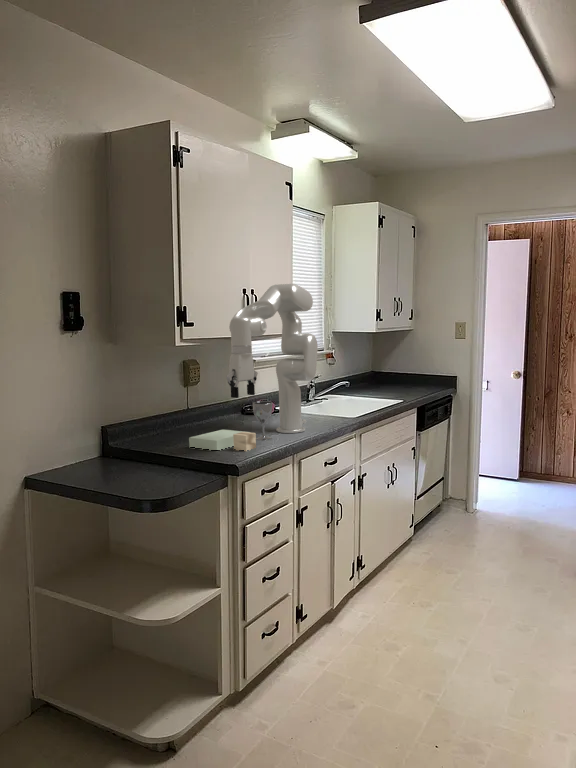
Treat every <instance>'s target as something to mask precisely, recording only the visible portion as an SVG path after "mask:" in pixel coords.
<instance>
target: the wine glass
mask: <svg viewBox="0 0 576 768" xmlns="http://www.w3.org/2000/svg"><path fill="white" fill-rule="evenodd" d="M252 410H253V414H254V417H255V418H256V420H257V421H258V422H259V423H260V425H261V432H262V436H258V437H256V441H267V440H266V439H271V438H272V437H271V438H270V436H266V434H265V426H266V423H267V422H268V420H270V418H271V416H272V414H273V413H272V412H273V401H270V400H269V401H267V400H264V401H262V400H260V401H254V402H252ZM271 440H272V439H271Z"/></svg>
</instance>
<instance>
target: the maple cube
mask: <svg viewBox="0 0 576 768" xmlns="http://www.w3.org/2000/svg"><path fill="white" fill-rule="evenodd" d="M256 435H257V434H256V432H250V431H244V432H241V433H237V434H233V440H234V447H233V450H234V449H236V450H235V451H239V450H244V451H243V452H248V451H247V450H249V451H252V450H251V449H253V450H255V449H254V448H256V449H257V440H256V438H257V436H256Z"/></svg>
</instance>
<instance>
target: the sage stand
mask: <svg viewBox="0 0 576 768" xmlns="http://www.w3.org/2000/svg"><path fill="white" fill-rule="evenodd" d="M241 432H245V431H244V430H243V431H241V430H233V429H219V430H216V431H211V432H206V433H202V434H199V435H194V436H190V437H188V443H189V448H190V447H195V448H202V449H201V450H203V449H209V450H208V451H211V450H220V451H222V450H221V449H223V450H226V449H225V448H227V449H229V448H228V447H230V448H233V447H232V446H234V440H233V434H237V433H241ZM195 448H194V449H195Z"/></svg>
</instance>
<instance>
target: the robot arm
mask: <svg viewBox="0 0 576 768" xmlns="http://www.w3.org/2000/svg"><path fill="white" fill-rule="evenodd" d="M313 300H314V299H313V295H311V293H310V292H309V291H308V290H306V289H305V288H303V287H302V286H301V285H298V284H296V283H283V284H282V283H281V284H278V283H277V284H274V285H271V286H270V287H268V289H267V290H266V291H265V292H264V294H263V295H262V296H261V297H260V298H259V299H258V300H257V301H254V302H252V303H250V304H249V305H246V306H244V307H242V308H241V309H239V310H238V311H237V312H236V313H235V314H234V315H233V317H232V318H231V320H230V322H229V332H230V341H231V343H230V345H231V346H230V347H231V354H230V356H229V364H228V373H227V375H226V380H227V383H228V385H229V387H230V398H232V399H233V398H234V399H238V398H239V397H240V396H239V395H240V394H239V383H240V382H247V384H246V394H247V395H248V396H255V393H256V392H255V390H256V389H255V385H256V381H257V376H258V374H259V373H258V372H257V370H255V367H254V366H255V364H254V358H253V351H252V350H253V349H252V345H253V344H252V337H261V336H263V335H264V334H265V333H266V332H267V328H268V327H267V323H266V320H268V319H270V318H272V317H274V316H275V314H276V313H278V315H279V317H280V319H281V324H282V326H281V343H280V349H281V353H282V354H283V355H286V356H295V357H296V356H298V357H299V356H301V357H303V358H297V357H296V358H292V357H291V358H281V359H280V360H278V362H277V363H276V365H275V372H276V379H277V383H278V384H277V386H278V406H279V407H278V408H279V412H278V413H279V414H278V415H279V426H278V427H277V428H276V432H278V433H283V434H298V433H302V432H305V431H306V427H305V426H303V425H305V424H306V423H307V420H306V419H305V418H304V419H302V392H301V391H302V390H301V388H300V385H299V384H298V382H297V381H299V382H303V381H304V382H305V381H306V382H309V381H313V380H314V379H315V377H316V375H317V363H318V362H317V361H318V341H317V337H316V336H315V335H314V334H313V333H305V332H303V333H302V331H303V330H302V329H303V327H302V326H303V323H302V320H301V318H300V316H299V315H298V313H300V312H308V311H310V310H311V309H312V307H313V305H314V301H313Z"/></svg>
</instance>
